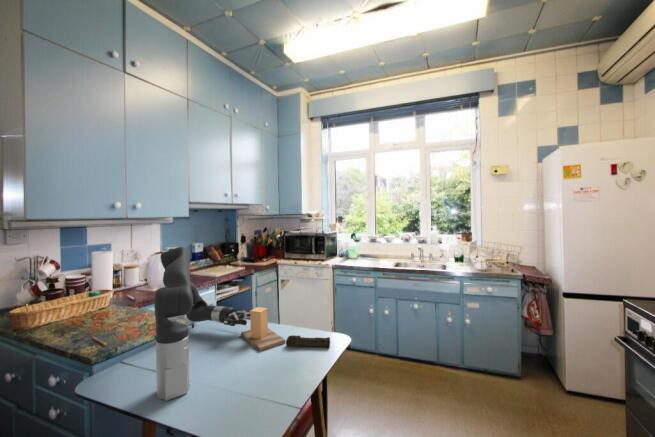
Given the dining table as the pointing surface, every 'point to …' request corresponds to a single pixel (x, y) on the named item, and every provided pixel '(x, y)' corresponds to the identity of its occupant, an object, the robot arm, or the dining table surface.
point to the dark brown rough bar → (307, 341)
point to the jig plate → (264, 340)
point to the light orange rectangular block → (259, 322)
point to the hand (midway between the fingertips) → (252, 319)
